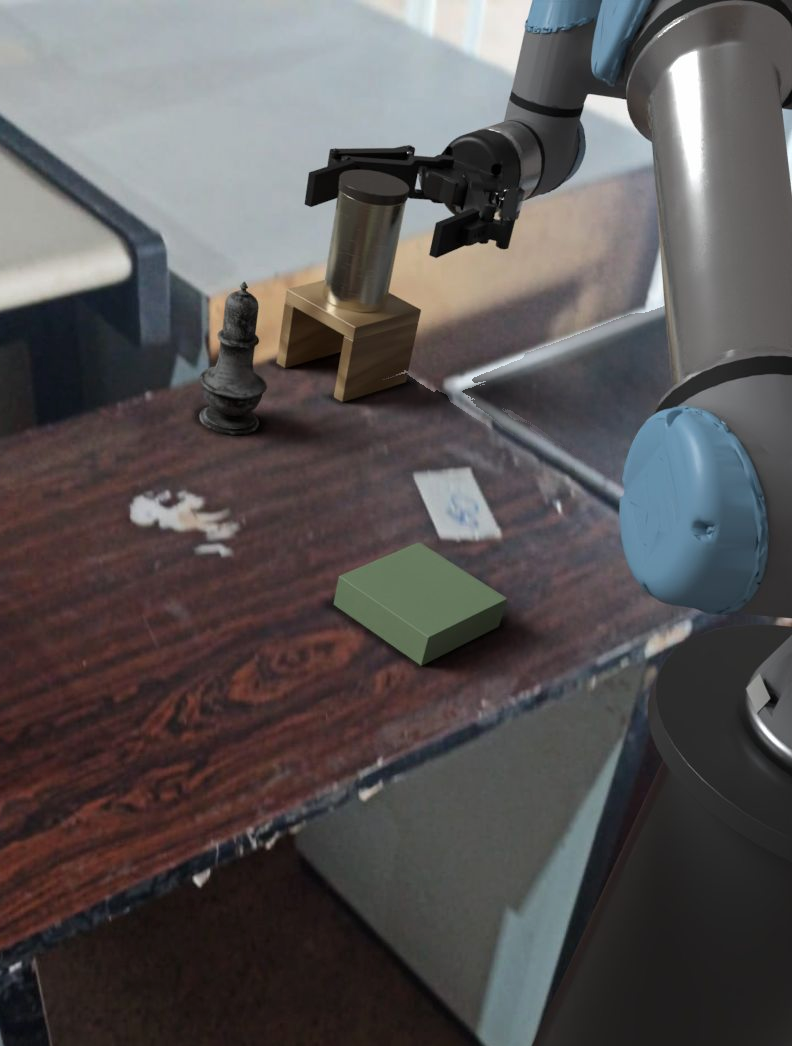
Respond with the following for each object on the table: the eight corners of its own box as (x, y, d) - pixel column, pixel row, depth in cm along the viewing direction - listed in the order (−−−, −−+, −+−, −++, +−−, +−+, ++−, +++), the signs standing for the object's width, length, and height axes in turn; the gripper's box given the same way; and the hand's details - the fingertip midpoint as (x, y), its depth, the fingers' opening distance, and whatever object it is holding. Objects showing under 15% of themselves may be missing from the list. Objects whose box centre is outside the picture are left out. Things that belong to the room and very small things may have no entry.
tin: (400, 306, 119) (423, 190, 112) (355, 318, 116) (376, 199, 108) (353, 280, 122) (373, 166, 115) (307, 291, 118) (324, 174, 111)
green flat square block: (499, 626, 97) (507, 598, 95) (421, 666, 92) (428, 637, 90) (412, 569, 101) (419, 541, 99) (333, 604, 96) (338, 575, 94)
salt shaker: (193, 430, 111) (206, 290, 103) (198, 400, 115) (211, 262, 107) (260, 440, 112) (278, 301, 103) (263, 410, 116) (281, 273, 107)
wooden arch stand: (406, 382, 124) (421, 309, 119) (342, 402, 119) (355, 327, 114) (340, 344, 128) (353, 272, 123) (276, 363, 123) (286, 288, 118)
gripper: (586, 254, 126) (480, 307, 112) (376, 172, 134) (255, 213, 120) (610, 171, 120) (502, 216, 107) (390, 91, 128) (265, 124, 115)
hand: (371, 214), depth 114 cm, fingers open, 13 cm apart
